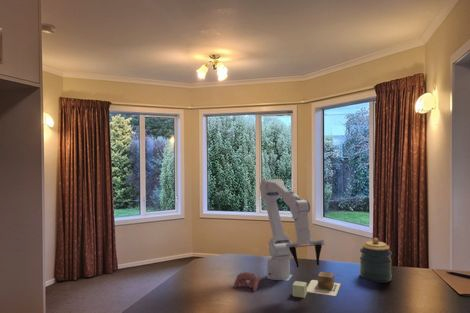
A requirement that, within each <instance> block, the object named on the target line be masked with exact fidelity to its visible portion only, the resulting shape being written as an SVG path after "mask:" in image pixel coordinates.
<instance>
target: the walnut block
mask: <svg viewBox="0 0 470 313" xmlns="http://www.w3.org/2000/svg"><path fill="white" fill-rule="evenodd" d="M317 281H318V288H320V289H327V290H332V289H333V287H334V283H335V273H334V272H326V271H320V272H319V273H318V275H317Z"/></svg>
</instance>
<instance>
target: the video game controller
mask: <svg viewBox="0 0 470 313" xmlns="http://www.w3.org/2000/svg"><path fill="white" fill-rule="evenodd" d="M247 281H249V282H247ZM259 283H260V277H259V276H258V275H256V274H254V273H253V272H252V273H251V272H239V274H237V276H236V278H235V281H234V284H233V287H234V289H237V288H238V286H239V285H241V287H244V288H245V287H249V289H252V290H253V292H256V291H257V290H258V287H259Z"/></svg>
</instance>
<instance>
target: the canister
mask: <svg viewBox="0 0 470 313" xmlns="http://www.w3.org/2000/svg"><path fill="white" fill-rule="evenodd" d="M361 246H362V247H361V248H360V250H359V252H360V254H361V255H360V256H359V262H360V264H359V266H360V267H359V276H360V278H361V279H364V280H366V281H369V282H374V283H379V284H386V283H390V282H391V280H392V277H393V276H392V261H393V260H392V258H391V255H392V254H393V252H392V251H391V250H390V246H389V245H388V244H387V243H386V242H383V241H380V240H379V238H378V237H374V238H372V240H367V241H365V242H364V243H362V244H361Z"/></svg>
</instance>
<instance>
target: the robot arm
mask: <svg viewBox="0 0 470 313" xmlns="http://www.w3.org/2000/svg"><path fill="white" fill-rule="evenodd" d="M259 190H260V191H259V192H260V195H261V199H262V200H264V203H265V206H266V212H267V216H268V221H269V225H270V229H271V233H272V237H271V238H270V239H269V241H268V253H269V255H270V256H269V257H268V259H267V266H266V267H267V268H266V269H267V274H266V275H267V277H266V279H267V280H275V281H279V280H280V281H289V280H290V279H291V278H292V276H293V274H290V273H291V272H290V271H291V269H290V267H291V265H290V264H291V262H290V261H291V260H290V259H291V258H293V259H294V262H295V265H296V268H300V266H299V260H298V256H297V248H305V247H306V248H307V247H314V250H315V257H316V258H315V259H316V266H320V256H321V251H322V247H323V246H325V240H324V239H318V240H317V239H316V240H313V239H312V231H311V226H310V218H309V213H310V211H311V204H310V201H309V200H308V199H307V198H301V197H300V196H299V194H296V193H295V191H294V190H289V189H288V187H286V186H285V182H284V180H283V179H282V178H275V179H274V178H273V179H272V178H271V179H262V180H261V181H260V183H259ZM281 197H282V200H283V202H284V203H285V204H286V205H287V206H288V207H289V210H290V213H291V215H292V219H293V220H294V227H295V235H296V242H292V238H291V237H290V236H288V235H287V234H285V231H284V227H283V224H282V220H281V214H280V211H279V208H278V203H277V200H278V199H280V198H281Z"/></svg>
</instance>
